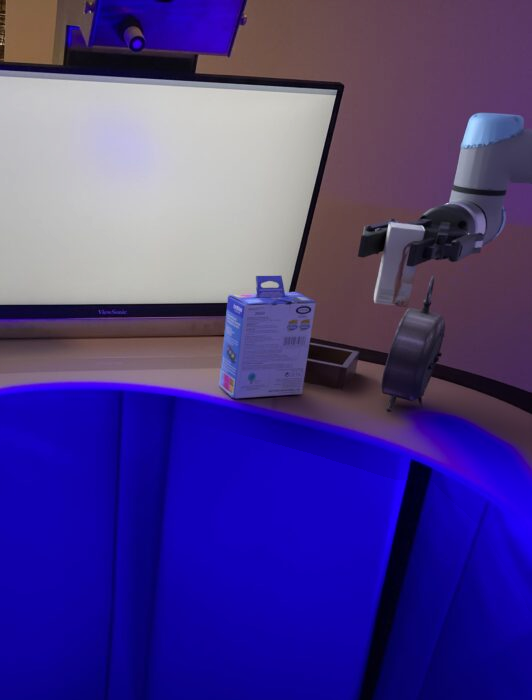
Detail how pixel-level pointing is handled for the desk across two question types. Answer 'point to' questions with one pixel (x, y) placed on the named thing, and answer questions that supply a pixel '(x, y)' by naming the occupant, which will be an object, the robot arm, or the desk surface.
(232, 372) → the ink cartridge box
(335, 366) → the holder
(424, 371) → the alarm clock
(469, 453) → the desk surface
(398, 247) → the white box
